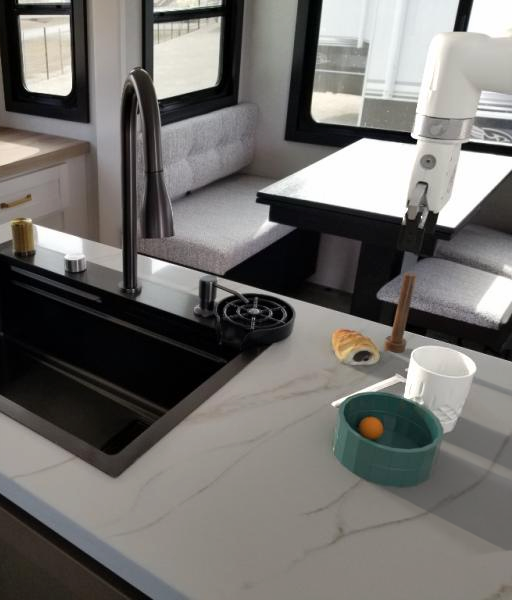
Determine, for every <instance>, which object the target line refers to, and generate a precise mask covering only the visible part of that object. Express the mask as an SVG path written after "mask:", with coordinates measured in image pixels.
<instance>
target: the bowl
mask: <svg viewBox="0 0 512 600" xmlns="http://www.w3.org/2000/svg"><path fill="white" fill-rule="evenodd" d="M353 394H354V393H353ZM348 396H349V395H348ZM346 397H347V396H346ZM338 407H339V408H338V410H337V415H336V420H335V428H334V432H333V438H332V444H331V445H332V449H333V453H334V456H335V457H336V458H337V460H338V461H339V462H340V464H342V466H343V467H344V468H346V470H348V471H349V472H350V473H352V474H354V475H356V476H357V477H359V478H361V479H363V480H365V481H368V482H370V483H373V484H377V485H380V486H384V487H390V488H391V487H392V488H409V487H415V486H418V485H421V484H423V483H425V482H427V481H428V480H429V479H430V478H431V477H432V475H433V474H434V472H435V468H436V464H437V461H438V457H439V454H440V451H441V447H442V444H443V440H444V433H443V432H444V429H443V427H442V425H441V423H440V420H439V419H438V418H437V417H436V416H435V415H434V414H433V413H432V412H431V411H430V410H429V409H427V408H425V407H424V406H422V405H421V404H419V403H417V402H415V401H413V400H410V399H408V398H405V397H404V396H402V395H398V394H395V393H390V392H384V391H383V392H382V391H376V392H362V393H357V394H354V395H352V396H349V397H347V398H346V399H345V400H344V401H343V402H342V403H341V404H340V405H339V406H338ZM366 417H374V418H377V419H378V420H379V421H380V422H381V423H382V425H383V433H382V435H381V436H380V437H379V438H378V439H375V440H369V439H366V438H364V437H363V436H362V435H361V433H360V431H359V424H360V422H361V421H362V420H363V419H364V418H366Z"/></svg>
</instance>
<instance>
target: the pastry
mask: <svg viewBox="0 0 512 600" xmlns="http://www.w3.org/2000/svg"><path fill="white" fill-rule="evenodd" d="M331 343H332V351H333V352H334V354H335V356H336V357H337V358H338V360H339V361H340V363H341V364H343V365H350V366H354V365H366V366H369V365H370V366H371V365H376V363H378V362H379V360H380V358H381V355H380V353H379V349H378V347H377V346H376V345H375V343H374V342H373V341H372V339H371V337H368V336H364V335H363V334H362V333H361V332H359V331H356V330H354V329H347V328H339V329H337V330H335V331H333V333H332V339H331Z"/></svg>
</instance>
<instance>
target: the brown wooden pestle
mask: <svg viewBox="0 0 512 600" xmlns="http://www.w3.org/2000/svg"><path fill="white" fill-rule="evenodd" d="M417 277H418V275H417V273H415V272H412V271H405V272H404V273H403V278H402V282H401V283H402V284H401V288H400V292H399V297H398V302H397V306H396V311H395V315H394V319H393V321H394V322H393V325H392V330H391V333H390V335H388V336H386V337H385V340H384V345H383V350H384V352H390V353H395V354H401V353H404V352H405V351H406V347H407V340H406V339H405V338H404V334H405V331H406V325H407V322H408V317H409V313H410V308H411V304H412V299H413V295H414V290H415V286H416V281H417Z"/></svg>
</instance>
